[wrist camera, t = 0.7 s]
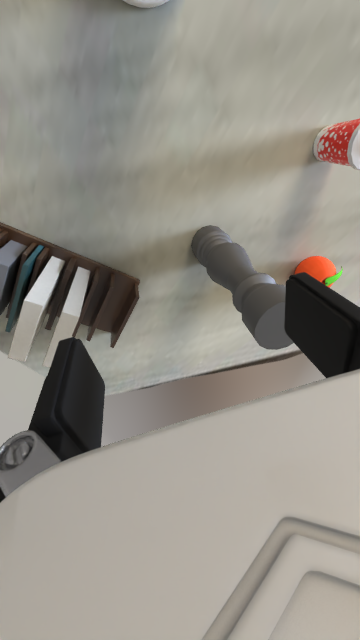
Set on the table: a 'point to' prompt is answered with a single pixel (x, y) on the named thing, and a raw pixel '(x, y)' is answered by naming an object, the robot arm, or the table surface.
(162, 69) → the table surface
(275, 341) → the candle holder
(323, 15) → the table surface
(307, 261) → the clementine
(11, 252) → the grey book
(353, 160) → the beverage cup
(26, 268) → the book rack
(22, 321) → the white book
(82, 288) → the white book
